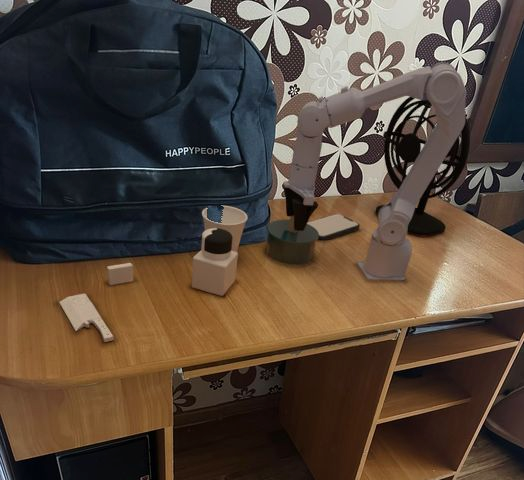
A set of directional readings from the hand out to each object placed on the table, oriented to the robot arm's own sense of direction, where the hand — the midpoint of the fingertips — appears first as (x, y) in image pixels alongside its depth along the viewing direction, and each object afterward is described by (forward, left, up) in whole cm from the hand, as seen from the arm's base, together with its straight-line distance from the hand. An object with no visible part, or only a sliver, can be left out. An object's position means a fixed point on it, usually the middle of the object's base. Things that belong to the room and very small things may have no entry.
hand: (294, 222), depth 117 cm
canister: (0, 0, -8) cm, 8 cm away
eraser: (+39, +13, -8) cm, 42 cm away
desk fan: (-41, -22, -8) cm, 47 cm away
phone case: (-15, -15, -8) cm, 23 cm away
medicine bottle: (+20, +14, -8) cm, 26 cm away
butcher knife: (+45, +27, -8) cm, 53 cm away
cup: (+17, +3, -8) cm, 19 cm away
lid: (0, 0, -2) cm, 2 cm away
